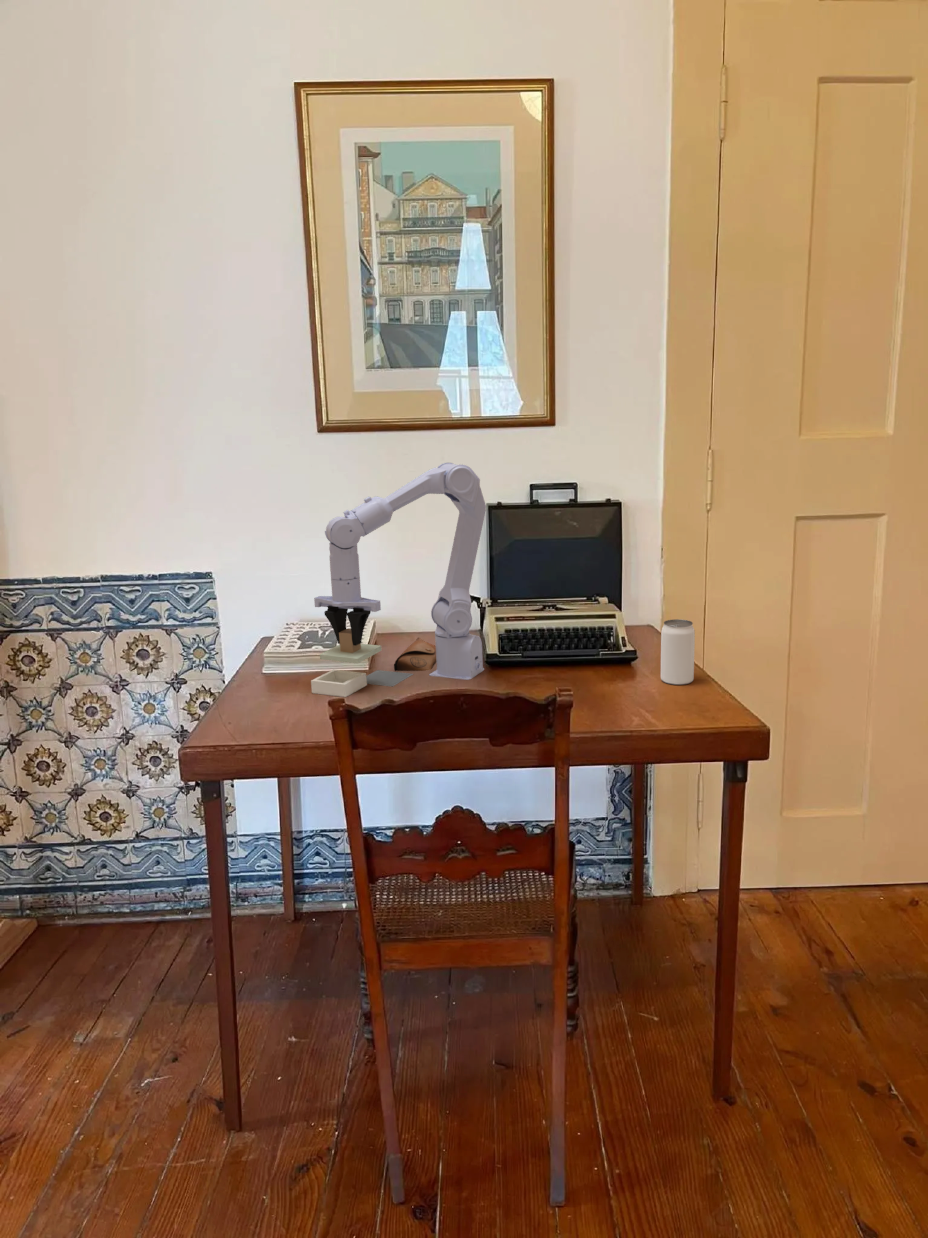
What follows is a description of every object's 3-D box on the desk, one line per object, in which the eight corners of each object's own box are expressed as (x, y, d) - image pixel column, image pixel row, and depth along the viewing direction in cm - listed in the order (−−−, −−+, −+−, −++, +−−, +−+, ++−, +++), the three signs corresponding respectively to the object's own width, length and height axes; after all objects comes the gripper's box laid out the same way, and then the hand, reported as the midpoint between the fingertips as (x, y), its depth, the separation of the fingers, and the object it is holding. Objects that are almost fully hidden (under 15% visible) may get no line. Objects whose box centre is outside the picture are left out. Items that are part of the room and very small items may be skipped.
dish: (367, 687, 179) (366, 673, 178) (345, 699, 172) (344, 684, 171) (334, 683, 182) (333, 669, 182) (312, 694, 175) (310, 680, 175)
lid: (381, 650, 180) (379, 627, 178) (357, 663, 172) (355, 639, 171) (344, 646, 183) (342, 623, 182) (320, 659, 176) (317, 635, 174)
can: (696, 677, 177) (697, 620, 174) (690, 686, 171) (691, 627, 168) (664, 674, 179) (665, 617, 177) (657, 683, 174) (658, 625, 171)
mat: (413, 675, 185) (413, 673, 185) (392, 688, 178) (392, 686, 177) (377, 671, 189) (377, 670, 189) (355, 683, 181) (355, 682, 181)
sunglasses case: (432, 673, 186) (415, 647, 186) (405, 688, 188) (389, 662, 188) (449, 650, 204) (434, 626, 203) (425, 664, 206) (409, 641, 205)
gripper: (303, 579, 173) (308, 645, 176) (365, 583, 167) (369, 651, 170) (324, 572, 179) (328, 636, 183) (384, 576, 173) (388, 642, 176)
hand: (349, 643), depth 177 cm, fingers closed on lid, 3 cm apart
